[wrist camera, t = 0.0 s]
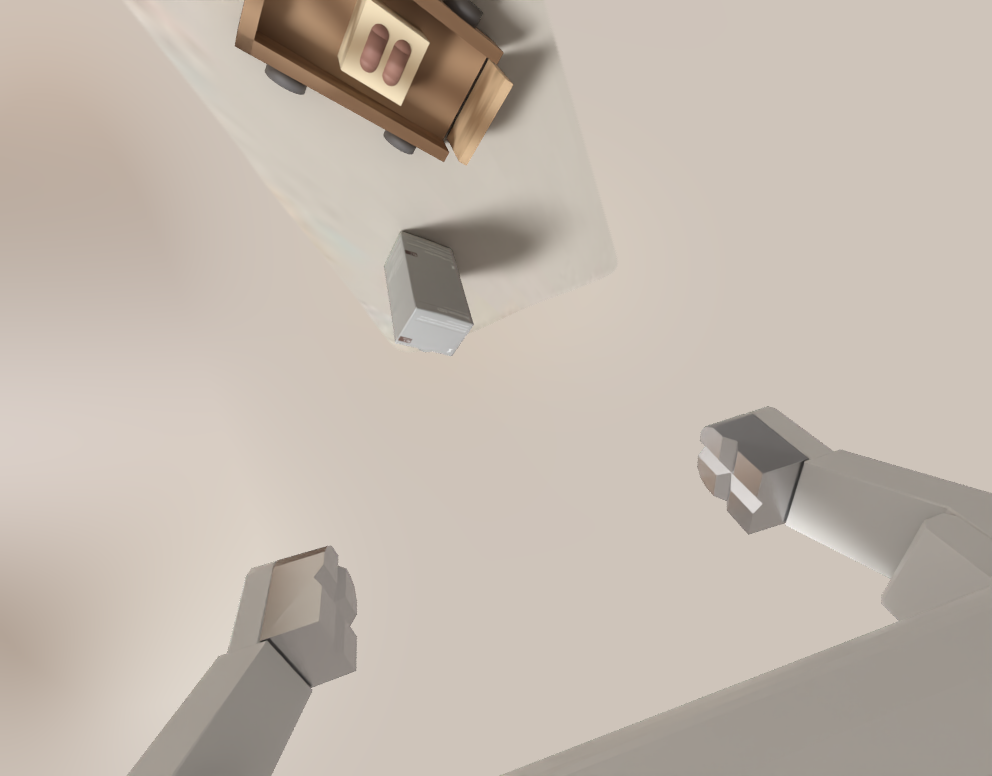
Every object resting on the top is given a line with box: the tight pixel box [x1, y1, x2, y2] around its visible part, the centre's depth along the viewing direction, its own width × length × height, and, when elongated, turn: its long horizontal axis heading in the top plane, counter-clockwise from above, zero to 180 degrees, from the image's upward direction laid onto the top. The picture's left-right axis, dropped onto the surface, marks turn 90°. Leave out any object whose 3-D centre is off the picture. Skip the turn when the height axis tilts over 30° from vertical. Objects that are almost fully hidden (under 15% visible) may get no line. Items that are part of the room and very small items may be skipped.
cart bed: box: [235, 0, 503, 162], centre depth 43 cm, size 15×21×4 cm
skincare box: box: [384, 232, 474, 356], centre depth 60 cm, size 8×7×16 cm
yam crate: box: [337, 0, 429, 106], centre depth 43 cm, size 6×6×5 cm
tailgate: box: [447, 59, 513, 166], centre depth 49 cm, size 9×1×6 cm, turn 145°
